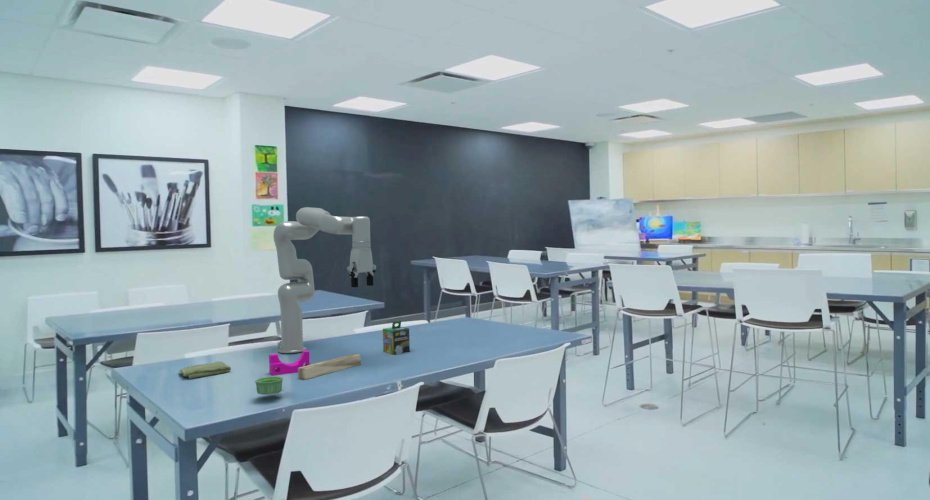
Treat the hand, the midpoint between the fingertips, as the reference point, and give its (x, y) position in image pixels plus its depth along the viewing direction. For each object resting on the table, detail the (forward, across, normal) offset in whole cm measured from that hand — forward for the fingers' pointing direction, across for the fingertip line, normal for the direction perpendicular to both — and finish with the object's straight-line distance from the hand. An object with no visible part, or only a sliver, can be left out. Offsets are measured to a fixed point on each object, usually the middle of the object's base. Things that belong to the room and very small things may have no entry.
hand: (362, 286), depth 240 cm
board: (+32, +18, -2) cm, 37 cm away
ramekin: (+33, +51, +1) cm, 60 cm away
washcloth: (+33, +41, -48) cm, 71 cm away
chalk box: (+33, -23, -1) cm, 40 cm away
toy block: (+33, +25, -17) cm, 45 cm away
